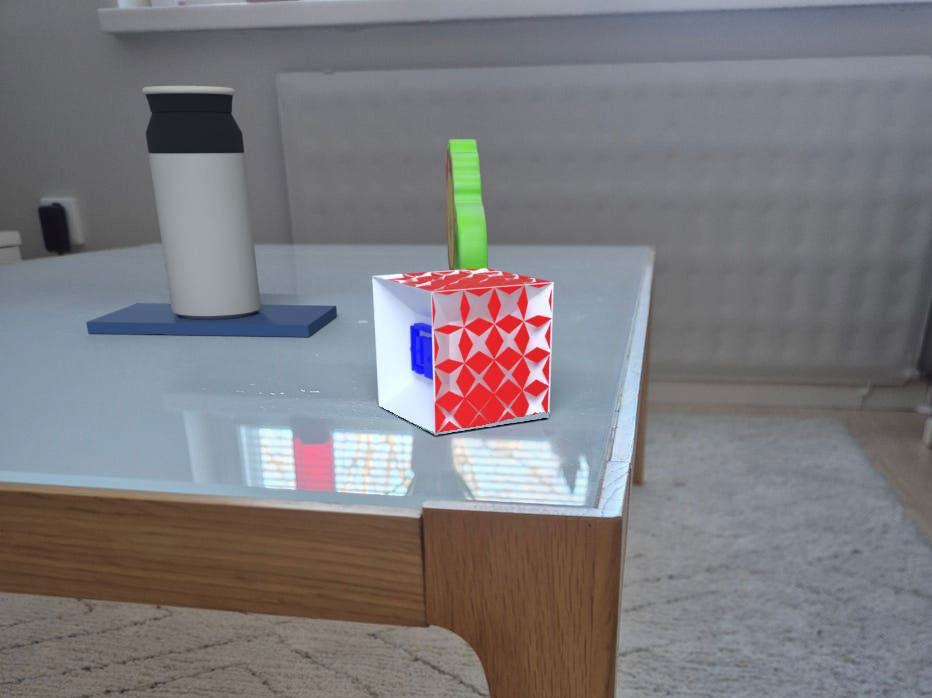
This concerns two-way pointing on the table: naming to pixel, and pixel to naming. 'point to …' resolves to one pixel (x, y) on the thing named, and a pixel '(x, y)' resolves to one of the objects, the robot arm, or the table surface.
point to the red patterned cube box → (463, 346)
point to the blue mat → (215, 321)
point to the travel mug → (202, 201)
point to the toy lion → (465, 207)
